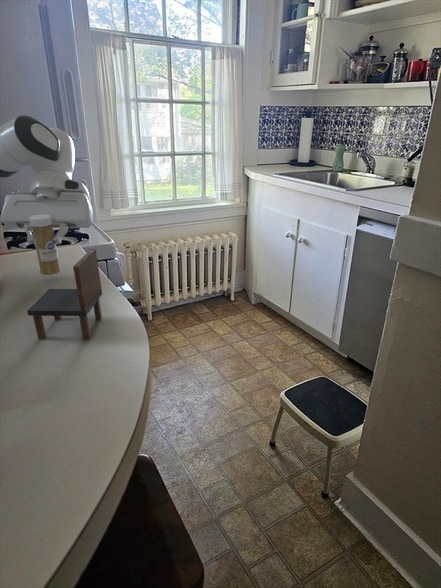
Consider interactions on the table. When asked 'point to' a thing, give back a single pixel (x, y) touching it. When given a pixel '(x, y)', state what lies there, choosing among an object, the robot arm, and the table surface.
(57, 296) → the chair
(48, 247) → the sprinkles bottle
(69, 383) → the table surface
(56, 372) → the table surface
